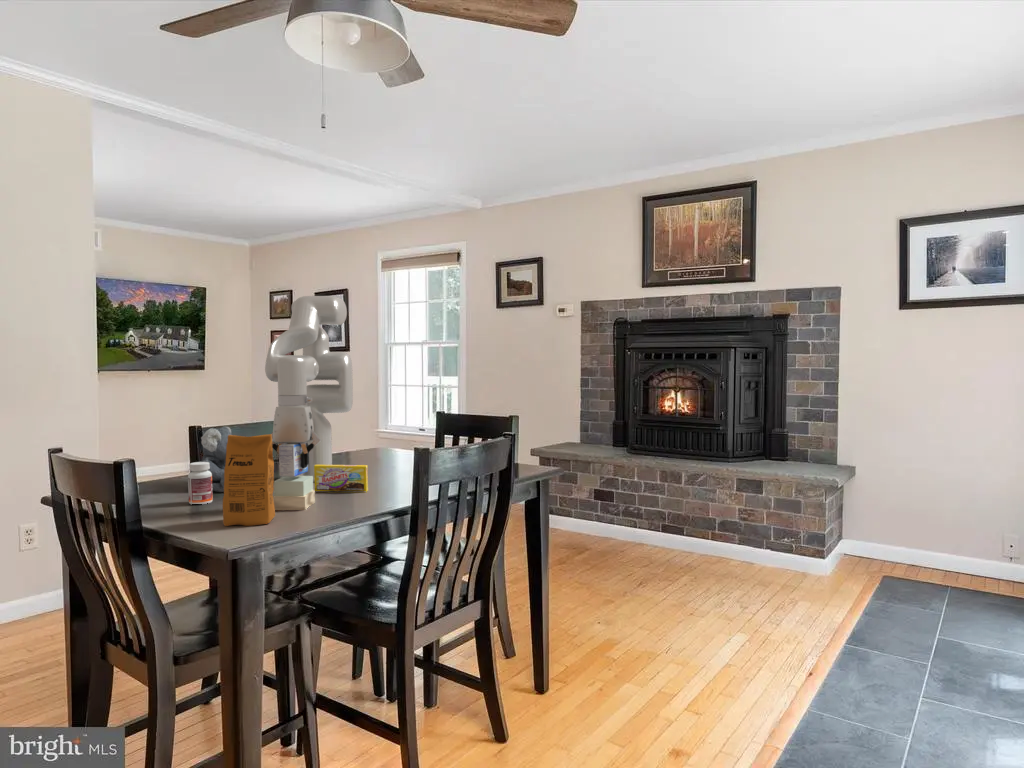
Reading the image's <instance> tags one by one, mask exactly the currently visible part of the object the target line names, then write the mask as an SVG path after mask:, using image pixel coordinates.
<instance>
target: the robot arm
mask: <svg viewBox="0 0 1024 768" xmlns="http://www.w3.org/2000/svg"><path fill="white" fill-rule="evenodd" d="M290 309H291V315H290V316H291V318H290V322H289V325H288V329H287V330H285V331H284V332H282V333H281V334H280V335H278V336H277V337H276V338H275V339H274V340H273V341H272V342H271V343H270V345H269V347H268V350H267V354H266V360H265V366H264V371H265V376H266V378H267V379H268V380H269V381H271V382H273V383H275V382H276V383H277V403H278V404H277V406H276V407H275V411H274V417H273V425H272V427H273V428H272V432H271V433H270V434H271V435H272V449H273V451H275V452H276V454H278V457H279V445H282V444H286V443H300V444H301V447H302V450H303V454H301V468H306V467H307V465H308V471H307V472H305V473H303V474H300V475H298V476H313V483H315V479H314V465H333V447H332V445H333V443H332V442H333V441H332V440H333V439H332V436H333V435H332V434H333V433H332V425H331V422H330V421H329V420H328V418H327V417H326V416H325V415H324V414H335V413H337V414H339V413H340V414H341V413H348V412H350V411H351V410H352V408H353V405H354V404H353V402H354V389H353V388H354V387H353V380H354V379H353V362H352V358H351V355H349V354H348V353H347V352H345V351H330V338H329V335H328V333H327V331H326V330H325V329H324V328H323V327H322V326H323V325H327V326H328V325H329V326H330V325H331V326H333V325H335V326H336V325H337V326H339V325H343V324H344V323H345V321H346V319H347V315H348V311H347V310H348V309H347V305H346V303H345V301H344V300H343V299H342V298H340V297H337V296H334V295H303V296H300V297H298V298H297V299H296V300H294V301H293V302H292V304H291V308H290ZM301 349H302V355H301V354H300V355H296V354H295V355H294V354H293V355H292V354H290V353H292V352H295V351H298V350H301ZM289 354H290V355H289ZM312 381H337V382H338V384H328V383H327V384H325V383H324V384H323V383H322V384H318V383H317V384H316V383H315V384H308V382H312Z"/></svg>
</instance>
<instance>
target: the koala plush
mask: <svg viewBox="0 0 1024 768" xmlns="http://www.w3.org/2000/svg"><path fill="white" fill-rule="evenodd" d="M228 435H233V434H232V429H231V428H230V427H229V426H225V425H223V426H222V427H220V428H214V427H212V428H211V427H210V428H209V429H207V430H206V431H205V432H204V433H203V435H202V436H201V437H200V439H201V441H200V442H201V445H202V453H203V455H202V458H201V461H200V462H209V465H210V469H208V471H210V472H211V473H212V492H217V493H218V492H219V493H224V469H225V465H226V447H227V442H228Z"/></svg>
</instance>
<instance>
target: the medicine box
mask: <svg viewBox="0 0 1024 768" xmlns="http://www.w3.org/2000/svg"><path fill="white" fill-rule="evenodd" d="M278 445H279V444H278ZM301 454H303V450H302V447H301V444H300V443H286V444H282V445H279V456H278V465H279V476H280V477H283V476H287V477H295V476H299V475H302V474H303V473H305V472H307V471H308V465H307V467H306V468H301Z"/></svg>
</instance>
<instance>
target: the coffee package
mask: <svg viewBox="0 0 1024 768" xmlns="http://www.w3.org/2000/svg"><path fill="white" fill-rule="evenodd" d="M273 451H274V449H273V448H272V435H271V433H270V434H261V435H254V436H253V435H252V436H242V435H236V434H234V435H233V434H232V435H228V442H227V447H226V465H225V469H224V492H223V497H222V523H223V526H224V527H229V526H237V525H238V526H239V525H240V526H244V527H252V526H253V527H254V526H262V525H267V524H269V523H271V521H272V520H273V519H274V518H275V517H276V511H275V507H274V501H273V496H274V481H275V472H274V471H275V461H274V455H273Z"/></svg>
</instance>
